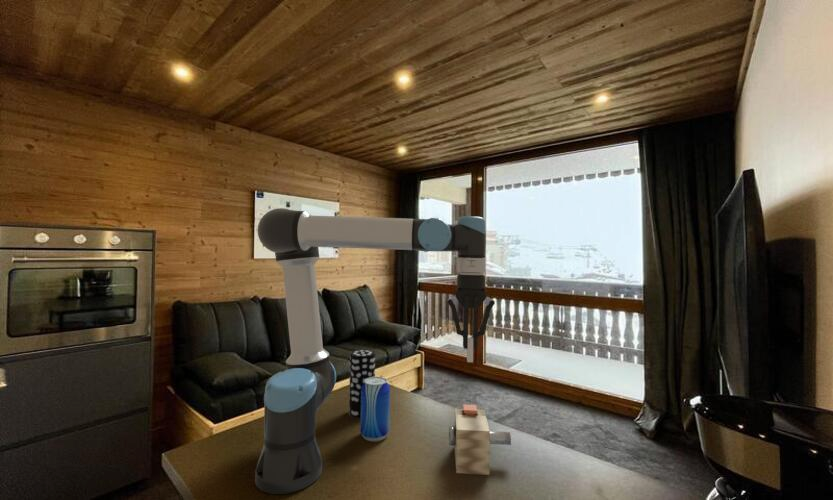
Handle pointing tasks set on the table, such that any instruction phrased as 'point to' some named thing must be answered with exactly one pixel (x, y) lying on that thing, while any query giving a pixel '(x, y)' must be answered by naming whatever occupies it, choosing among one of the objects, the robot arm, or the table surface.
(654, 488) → the table surface
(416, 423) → the table surface
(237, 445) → the table surface
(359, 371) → the spotted tube
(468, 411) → the plunger
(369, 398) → the beer can
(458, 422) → the block
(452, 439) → the pin
